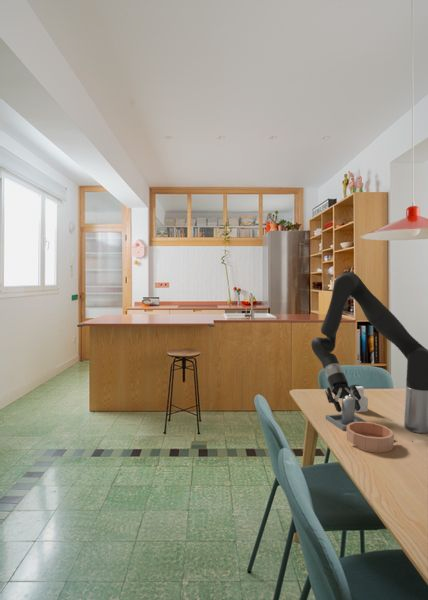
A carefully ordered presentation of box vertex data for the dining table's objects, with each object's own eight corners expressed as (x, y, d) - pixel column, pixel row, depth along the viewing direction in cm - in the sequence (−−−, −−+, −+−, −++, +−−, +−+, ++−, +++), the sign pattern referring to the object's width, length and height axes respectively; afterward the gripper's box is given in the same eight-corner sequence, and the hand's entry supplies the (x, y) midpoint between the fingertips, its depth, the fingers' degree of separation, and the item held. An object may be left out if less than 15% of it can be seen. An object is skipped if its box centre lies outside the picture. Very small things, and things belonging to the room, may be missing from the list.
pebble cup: (349, 420, 169) (350, 394, 168) (356, 424, 164) (357, 397, 163) (339, 421, 168) (340, 394, 167) (345, 425, 163) (346, 398, 162)
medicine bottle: (344, 409, 186) (345, 384, 185) (356, 408, 188) (358, 383, 188) (354, 414, 179) (356, 388, 178) (367, 413, 182) (368, 387, 181)
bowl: (373, 432, 159) (374, 420, 158) (402, 450, 143) (403, 436, 143) (338, 436, 155) (338, 423, 154) (363, 454, 139) (363, 440, 139)
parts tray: (352, 418, 174) (352, 413, 174) (371, 430, 161) (371, 424, 161) (325, 421, 170) (325, 415, 170) (342, 432, 158) (342, 426, 158)
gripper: (324, 372, 170) (337, 407, 160) (353, 371, 174) (368, 405, 164) (317, 381, 176) (330, 415, 166) (346, 380, 179) (360, 413, 169)
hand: (349, 410), depth 165 cm, fingers open, 8 cm apart
